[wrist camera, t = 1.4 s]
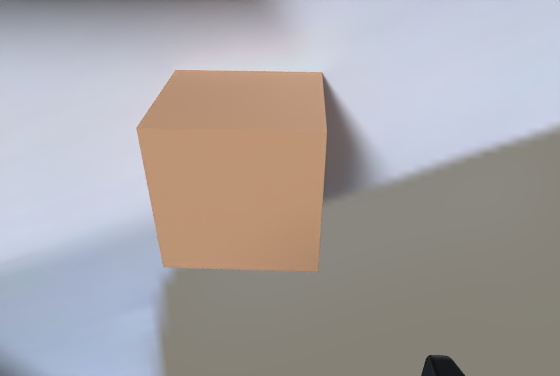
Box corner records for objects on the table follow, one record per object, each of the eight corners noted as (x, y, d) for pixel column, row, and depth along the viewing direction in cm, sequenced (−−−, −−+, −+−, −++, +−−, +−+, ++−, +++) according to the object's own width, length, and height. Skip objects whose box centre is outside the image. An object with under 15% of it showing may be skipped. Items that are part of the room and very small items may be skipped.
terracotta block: (315, 192, 18) (318, 272, 15) (191, 189, 19) (163, 267, 15) (322, 71, 16) (327, 131, 12) (176, 69, 16) (136, 128, 12)
